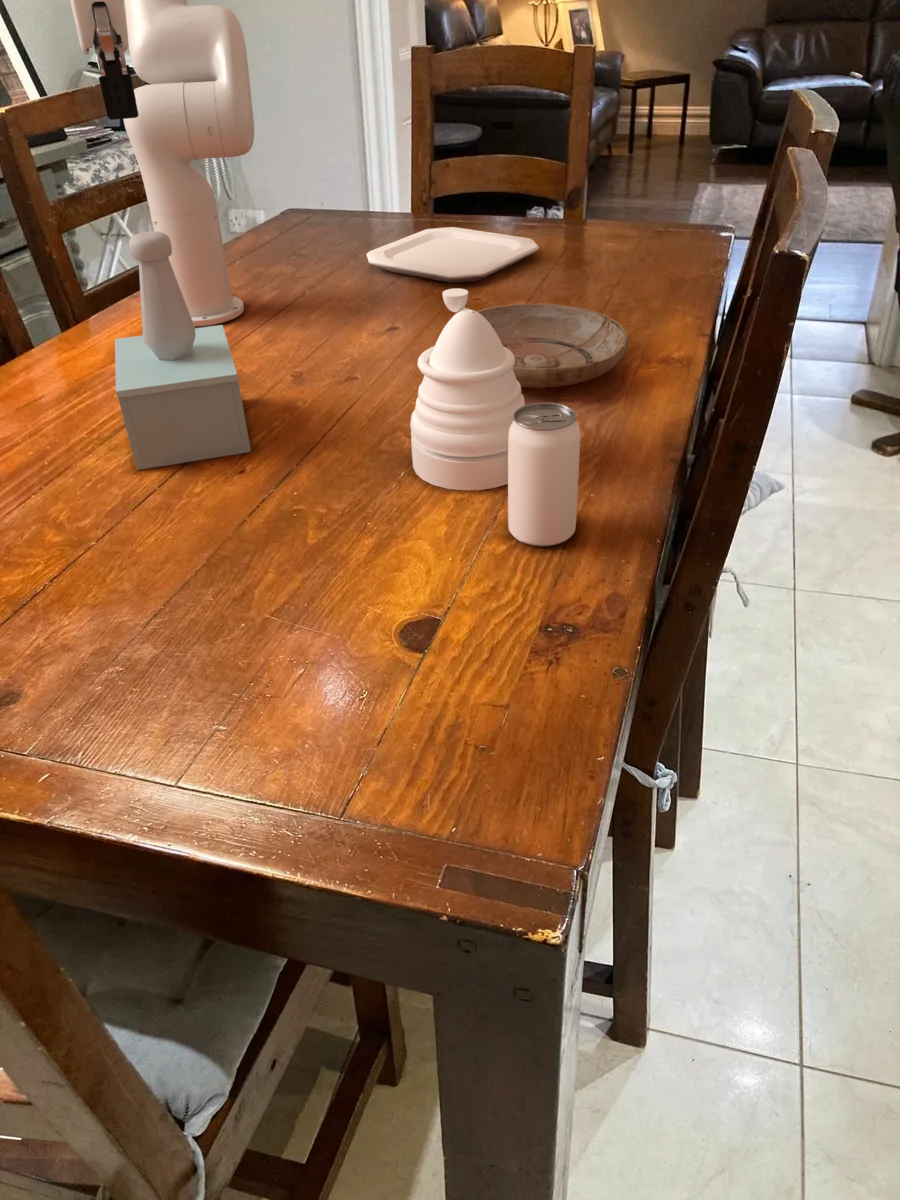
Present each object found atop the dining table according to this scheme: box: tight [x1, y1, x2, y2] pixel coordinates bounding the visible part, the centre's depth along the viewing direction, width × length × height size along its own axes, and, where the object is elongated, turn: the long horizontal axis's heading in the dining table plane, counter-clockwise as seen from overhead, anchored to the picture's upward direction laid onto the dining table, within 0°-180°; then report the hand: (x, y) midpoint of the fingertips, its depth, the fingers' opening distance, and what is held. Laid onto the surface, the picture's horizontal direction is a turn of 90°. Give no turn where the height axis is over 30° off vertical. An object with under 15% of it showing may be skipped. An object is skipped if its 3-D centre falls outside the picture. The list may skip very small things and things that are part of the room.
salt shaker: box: [128, 230, 196, 361], centre depth 101 cm, size 6×6×13 cm
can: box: [507, 402, 581, 548], centre depth 86 cm, size 6×6×12 cm
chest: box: [117, 380, 252, 471], centre depth 108 cm, size 16×13×9 cm
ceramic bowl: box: [475, 303, 629, 389], centre depth 121 cm, size 23×24×5 cm
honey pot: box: [409, 288, 526, 491], centre depth 97 cm, size 13×13×18 cm
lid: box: [114, 324, 239, 399], centre depth 105 cm, size 16×13×1 cm
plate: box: [366, 226, 540, 284], centre depth 163 cm, size 25×25×2 cm
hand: (123, 111), depth 104 cm, fingers open, 9 cm apart
